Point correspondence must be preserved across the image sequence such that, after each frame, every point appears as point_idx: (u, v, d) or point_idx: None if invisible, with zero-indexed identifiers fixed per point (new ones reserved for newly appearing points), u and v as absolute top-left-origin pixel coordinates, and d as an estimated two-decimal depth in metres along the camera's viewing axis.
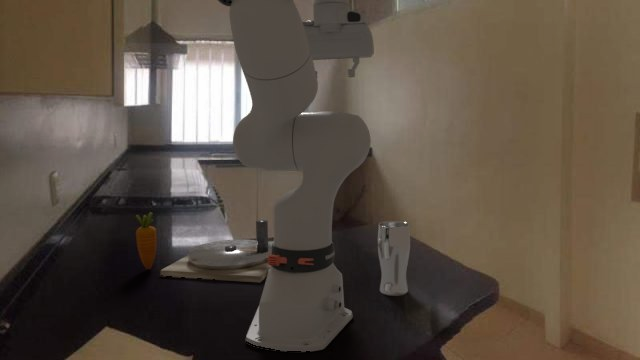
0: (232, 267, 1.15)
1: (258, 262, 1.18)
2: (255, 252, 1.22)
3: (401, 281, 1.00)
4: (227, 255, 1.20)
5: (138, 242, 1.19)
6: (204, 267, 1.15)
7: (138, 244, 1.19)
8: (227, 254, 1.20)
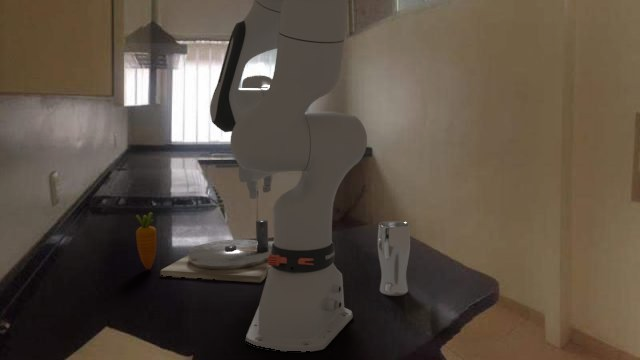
0: (232, 267, 1.15)
1: (258, 262, 1.18)
2: (255, 252, 1.22)
3: (401, 281, 1.00)
4: (227, 255, 1.20)
5: (138, 242, 1.19)
6: (204, 267, 1.15)
7: (138, 244, 1.19)
8: (227, 254, 1.20)
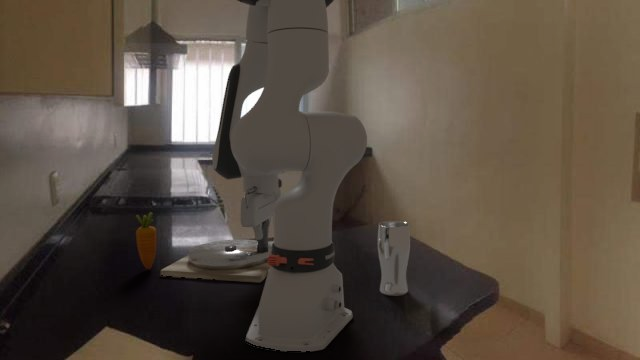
0: (232, 267, 1.15)
1: (257, 262, 1.18)
2: (255, 252, 1.22)
3: (401, 281, 1.00)
4: (227, 255, 1.20)
5: (138, 242, 1.19)
6: (204, 267, 1.15)
7: (138, 244, 1.19)
8: (227, 254, 1.20)
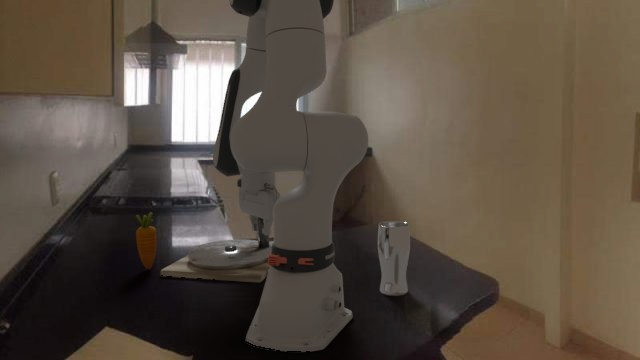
0: (256, 263, 1.18)
1: None
2: (260, 248, 1.26)
3: (401, 281, 1.00)
4: (239, 254, 1.21)
5: (138, 242, 1.19)
6: (228, 267, 1.15)
7: (138, 244, 1.19)
8: (238, 253, 1.21)
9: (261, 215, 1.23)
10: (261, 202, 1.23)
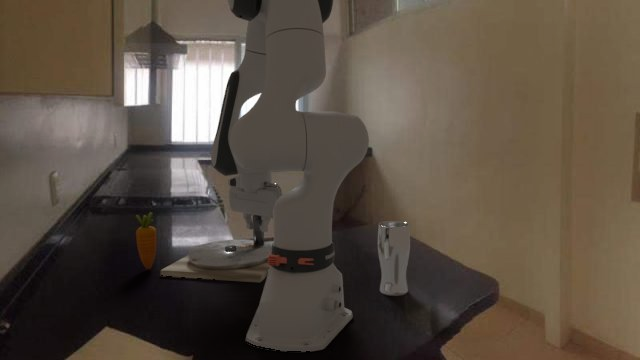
0: (267, 259, 1.21)
1: None
2: (258, 245, 1.29)
3: (401, 281, 1.00)
4: (246, 252, 1.22)
5: (138, 242, 1.19)
6: (245, 265, 1.16)
7: (138, 244, 1.19)
8: (244, 252, 1.22)
9: (262, 213, 1.26)
10: (261, 200, 1.26)
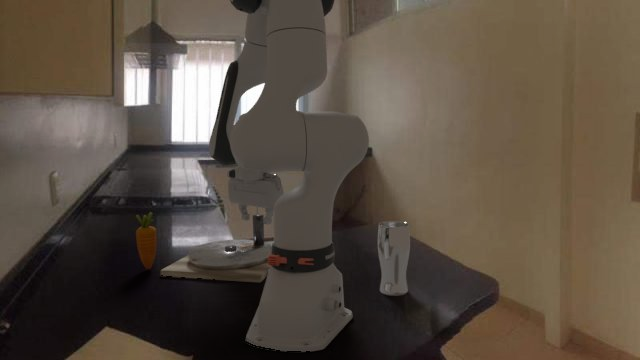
0: (267, 259, 1.21)
1: None
2: (258, 245, 1.29)
3: (401, 281, 1.00)
4: (246, 252, 1.22)
5: (138, 242, 1.19)
6: (245, 265, 1.16)
7: (138, 244, 1.19)
8: (244, 252, 1.22)
9: (261, 204, 1.26)
10: (261, 191, 1.26)
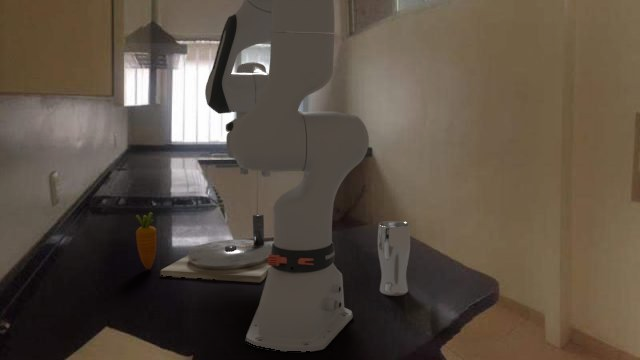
0: (267, 259, 1.21)
1: None
2: (258, 245, 1.29)
3: (401, 281, 1.00)
4: (246, 252, 1.22)
5: (138, 242, 1.19)
6: (245, 265, 1.16)
7: (138, 244, 1.19)
8: (244, 252, 1.22)
9: None
10: None
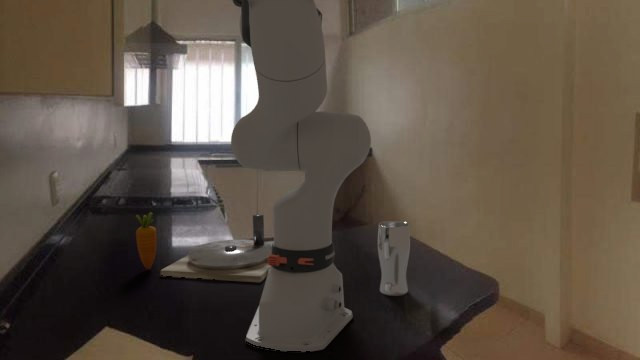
0: (267, 259, 1.21)
1: None
2: (258, 245, 1.29)
3: (401, 281, 1.00)
4: (246, 252, 1.22)
5: (138, 242, 1.19)
6: (245, 265, 1.16)
7: (138, 244, 1.19)
8: (244, 252, 1.22)
9: None
10: None
